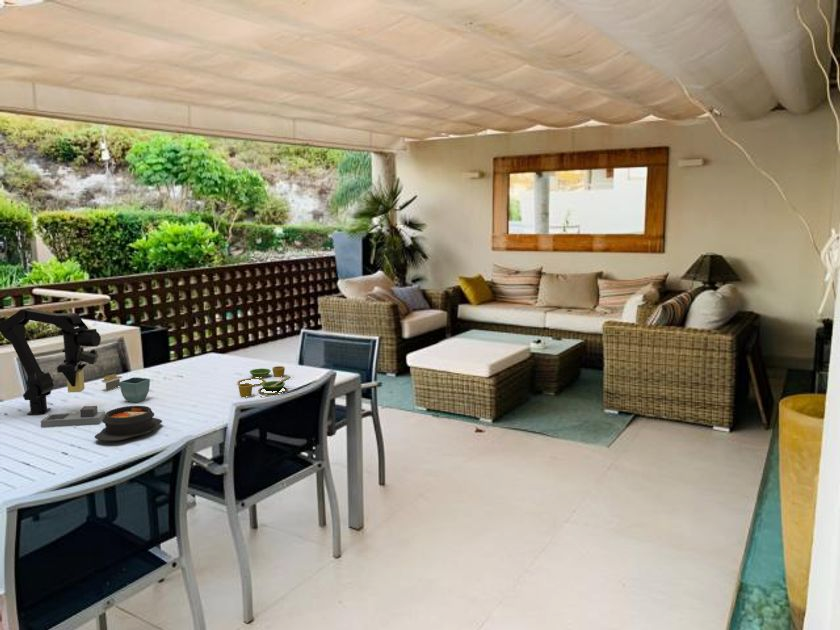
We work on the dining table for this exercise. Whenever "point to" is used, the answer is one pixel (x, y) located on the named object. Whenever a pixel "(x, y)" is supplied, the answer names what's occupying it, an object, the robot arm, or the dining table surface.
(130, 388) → the flower pot
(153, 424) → the casserole
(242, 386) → the tableware set
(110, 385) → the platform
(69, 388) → the plug
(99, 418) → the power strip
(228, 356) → the dining table surface
